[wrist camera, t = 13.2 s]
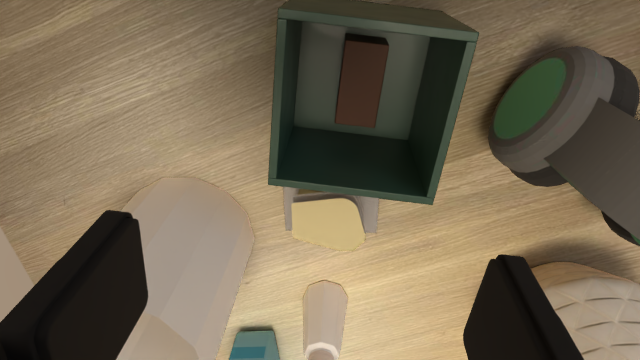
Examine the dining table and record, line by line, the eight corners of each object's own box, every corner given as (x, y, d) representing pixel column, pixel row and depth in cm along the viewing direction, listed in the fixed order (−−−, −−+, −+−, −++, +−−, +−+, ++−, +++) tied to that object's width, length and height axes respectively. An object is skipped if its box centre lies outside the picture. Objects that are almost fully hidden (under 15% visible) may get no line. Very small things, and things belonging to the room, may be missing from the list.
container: (120, 169, 45) (-7, 286, 29) (255, 183, 44) (203, 309, 29) (136, 276, 51) (41, 418, 35) (254, 288, 51) (211, 437, 35)
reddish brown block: (345, 32, 36) (345, 39, 33) (386, 37, 36) (389, 45, 33) (335, 110, 40) (334, 123, 37) (372, 115, 40) (374, 128, 37)
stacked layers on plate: (285, 230, 47) (278, 261, 42) (281, 156, 43) (273, 181, 38) (376, 232, 46) (379, 264, 42) (381, 158, 42) (385, 184, 37)
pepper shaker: (347, 279, 50) (347, 357, 40) (348, 313, 52) (348, 395, 42) (301, 279, 50) (290, 356, 40) (304, 313, 53) (294, 394, 43)
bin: (298, -7, 36) (278, 7, 26) (441, 11, 36) (479, 32, 25) (287, 128, 41) (267, 185, 31) (411, 144, 41) (432, 205, 31)
